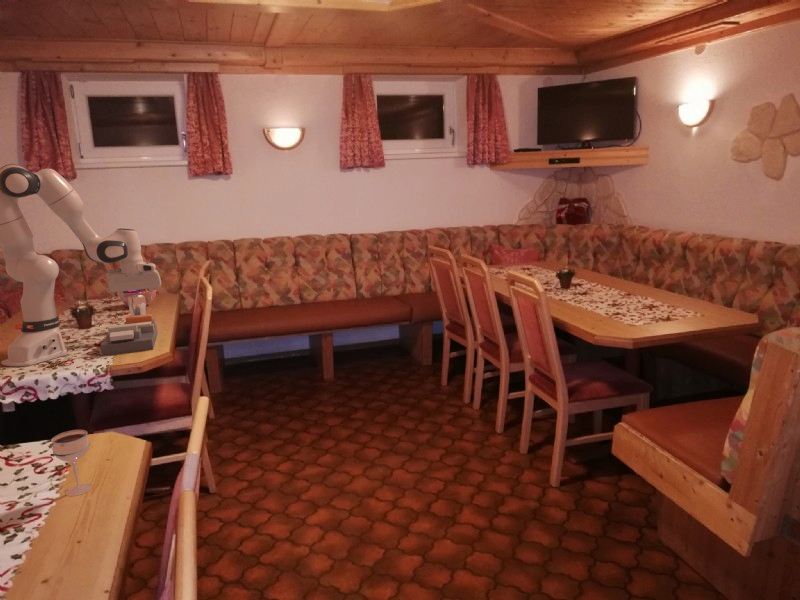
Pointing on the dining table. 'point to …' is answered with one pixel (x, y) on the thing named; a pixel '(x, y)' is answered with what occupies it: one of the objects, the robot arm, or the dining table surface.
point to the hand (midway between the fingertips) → (137, 300)
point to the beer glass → (137, 305)
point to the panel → (131, 341)
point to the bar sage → (123, 328)
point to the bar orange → (139, 319)
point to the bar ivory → (144, 324)
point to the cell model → (138, 292)
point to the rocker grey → (121, 335)
